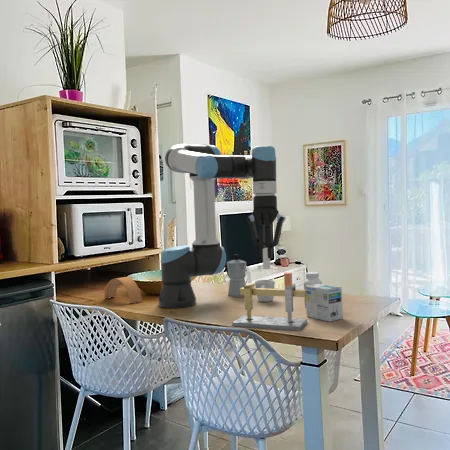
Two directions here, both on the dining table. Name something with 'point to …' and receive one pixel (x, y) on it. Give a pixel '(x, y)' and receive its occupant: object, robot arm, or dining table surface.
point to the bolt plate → (270, 322)
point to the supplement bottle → (311, 280)
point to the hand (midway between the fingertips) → (266, 268)
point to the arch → (128, 284)
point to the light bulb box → (324, 302)
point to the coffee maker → (236, 275)
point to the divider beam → (264, 294)
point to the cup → (264, 284)
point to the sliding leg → (289, 294)
